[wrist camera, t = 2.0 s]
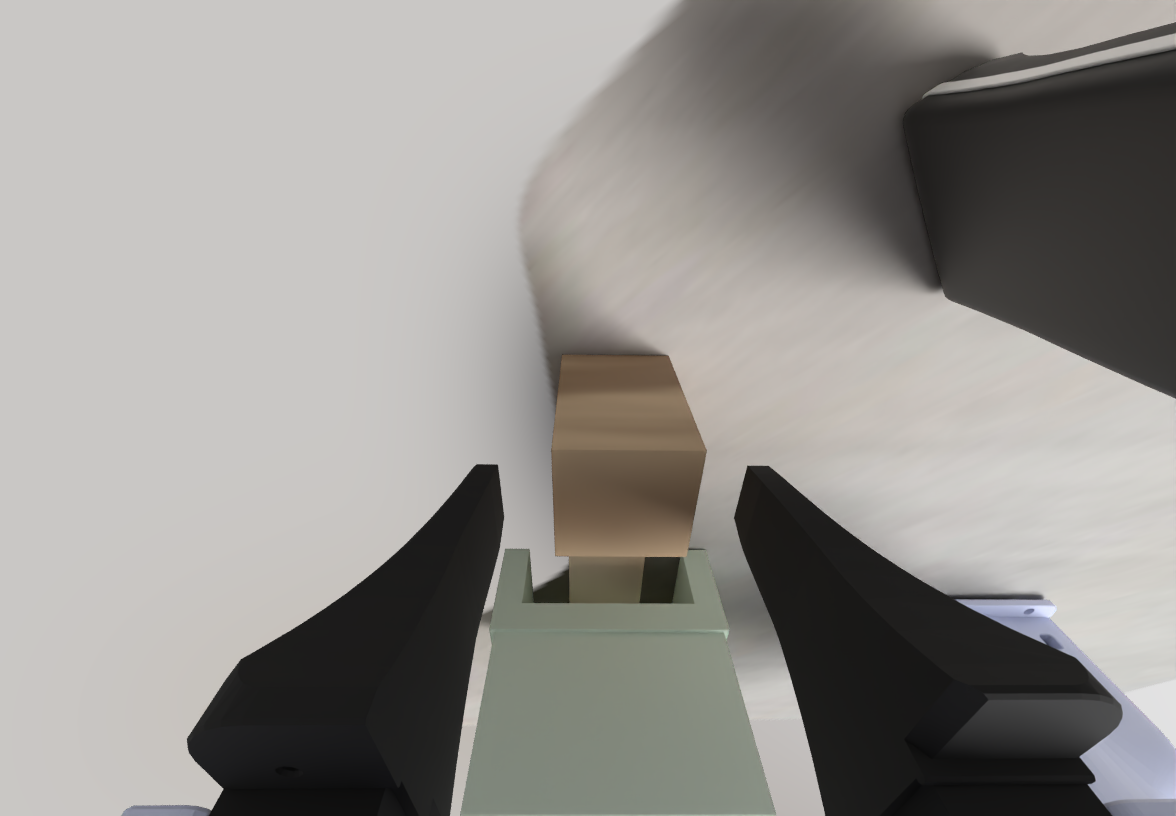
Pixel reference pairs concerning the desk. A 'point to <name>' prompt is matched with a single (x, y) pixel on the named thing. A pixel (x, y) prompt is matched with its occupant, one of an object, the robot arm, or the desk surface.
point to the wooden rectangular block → (621, 472)
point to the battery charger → (1061, 197)
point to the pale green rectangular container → (613, 707)
